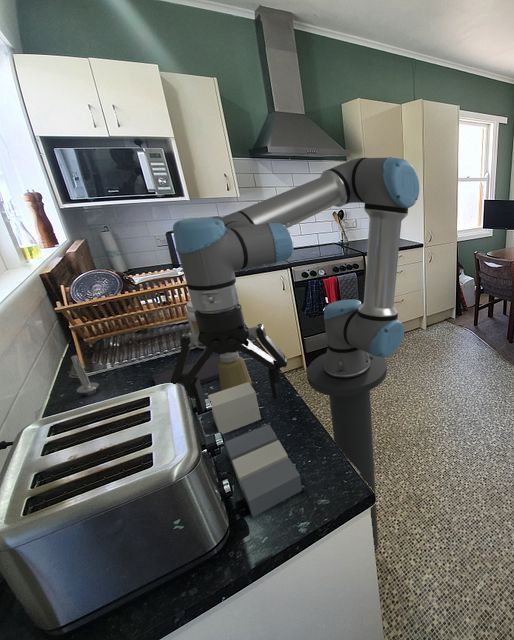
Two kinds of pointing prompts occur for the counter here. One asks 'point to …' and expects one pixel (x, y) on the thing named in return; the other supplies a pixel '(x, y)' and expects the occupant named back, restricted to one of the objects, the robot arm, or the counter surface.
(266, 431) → the grey block
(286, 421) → the counter surface
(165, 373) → the notebook
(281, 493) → the grey beveled block
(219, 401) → the beige block
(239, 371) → the squeeze bottle
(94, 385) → the screw
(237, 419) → the beige rectangular block
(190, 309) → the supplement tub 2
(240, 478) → the tan rectangular block
